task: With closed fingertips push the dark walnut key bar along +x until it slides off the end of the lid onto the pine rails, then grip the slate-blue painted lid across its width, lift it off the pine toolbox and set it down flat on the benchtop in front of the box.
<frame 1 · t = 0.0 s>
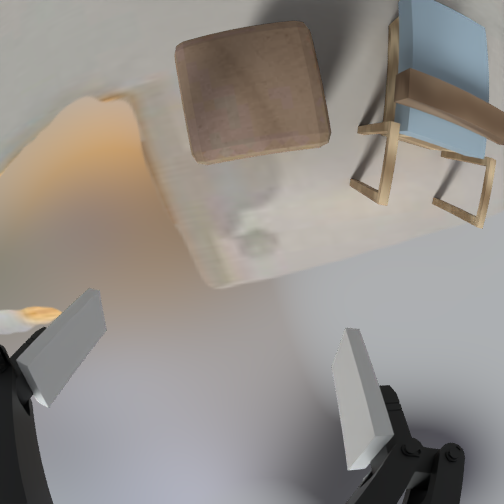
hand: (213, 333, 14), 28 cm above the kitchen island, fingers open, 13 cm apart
wooden block: (262, 114, 36), on the kitchen island
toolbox: (411, 84, 31), on the kitchen island
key: (463, 109, 20), point 14 cm above the kitchen island, slide at 0.0 cm
lid: (437, 75, 24), point 8 cm above the kitchen island, touching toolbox
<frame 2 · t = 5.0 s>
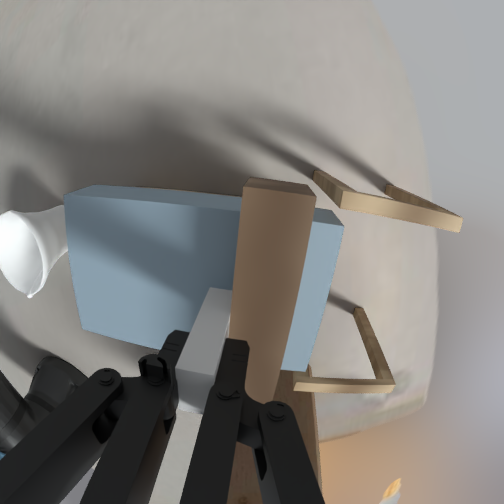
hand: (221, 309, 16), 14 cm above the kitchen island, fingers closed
cup: (69, 226, 30), on the kitchen island
wooden block: (275, 385, 37), on the kitchen island
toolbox: (217, 233, 29), on the kitchen island
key: (259, 321, 16), point 14 cm above the kitchen island, slide at 0.0 cm, touching gripper
lid: (197, 265, 22), point 8 cm above the kitchen island, touching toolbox
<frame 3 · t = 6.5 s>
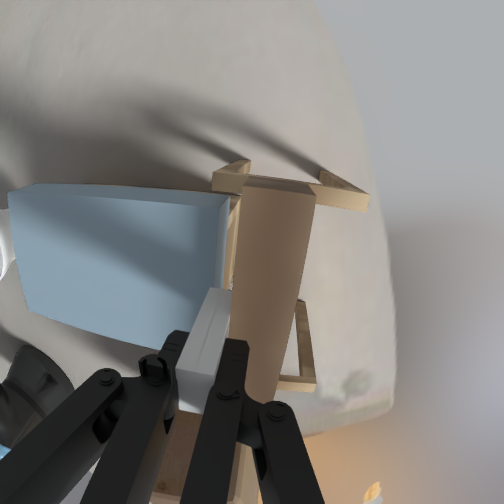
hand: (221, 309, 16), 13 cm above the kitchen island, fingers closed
cup: (34, 222, 31), on the kitchen island
wooden block: (224, 379, 37), on the kitchen island
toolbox: (153, 225, 29), on the kitchen island
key: (259, 321, 16), point 14 cm above the kitchen island, slide at 7.0 cm, touching gripper
lid: (116, 253, 22), point 8 cm above the kitchen island, touching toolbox
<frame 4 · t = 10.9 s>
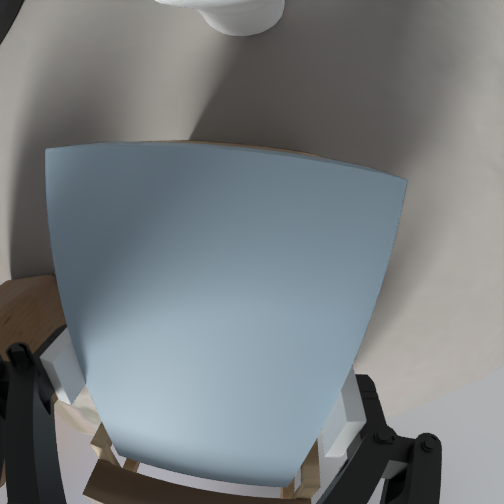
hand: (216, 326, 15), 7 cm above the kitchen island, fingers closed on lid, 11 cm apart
cup: (241, 12, 15), on the kitchen island
wooden block: (48, 313, 26), on the kitchen island
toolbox: (234, 270, 21), on the kitchen island
lid: (212, 336, 14), point 8 cm above the kitchen island, touching gripper, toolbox
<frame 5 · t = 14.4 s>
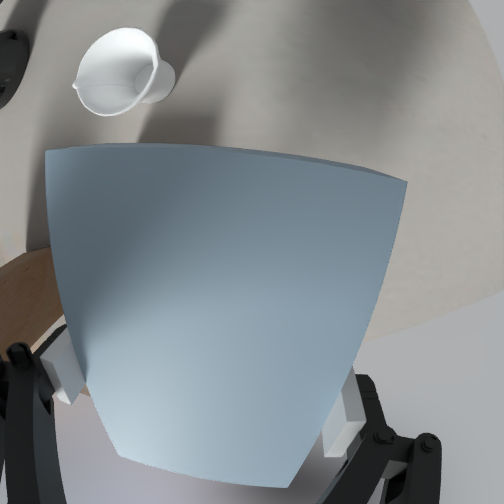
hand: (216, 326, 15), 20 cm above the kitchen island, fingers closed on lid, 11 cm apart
cup: (153, 85, 28), on the kitchen island
wooden block: (50, 275, 39), on the kitchen island
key: (118, 386, 27), point 14 cm above the kitchen island, slide at 7.2 cm
lid: (212, 337, 14), point 21 cm above the kitchen island, touching gripper
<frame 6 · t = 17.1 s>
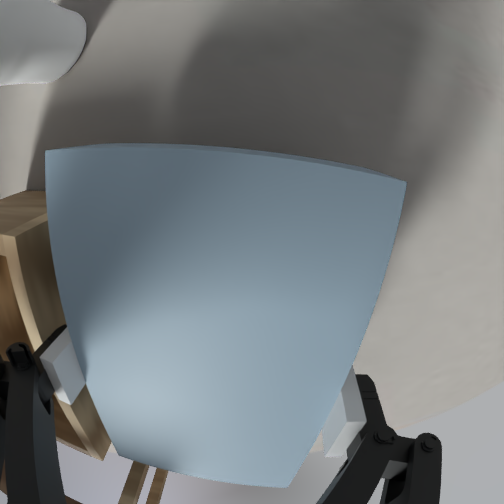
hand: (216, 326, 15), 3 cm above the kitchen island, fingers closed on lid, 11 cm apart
cup: (58, 53, 13), on the kitchen island
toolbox: (75, 305, 19), on the kitchen island
lid: (212, 337, 14), point 4 cm above the kitchen island, touching gripper
when the fingers open (2 cm above the kitchen island, at t = 18.2 s): lid drops 4 cm, on the kitchen island.
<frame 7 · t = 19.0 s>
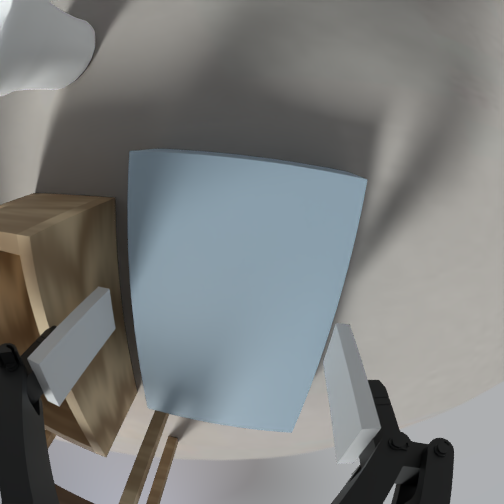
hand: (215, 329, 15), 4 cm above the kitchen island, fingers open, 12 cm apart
cup: (67, 60, 14), on the kitchen island
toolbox: (82, 305, 20), on the kitchen island
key: (54, 503, 12), point 14 cm above the kitchen island, slide at 7.2 cm
lid: (235, 296, 19), on the kitchen island
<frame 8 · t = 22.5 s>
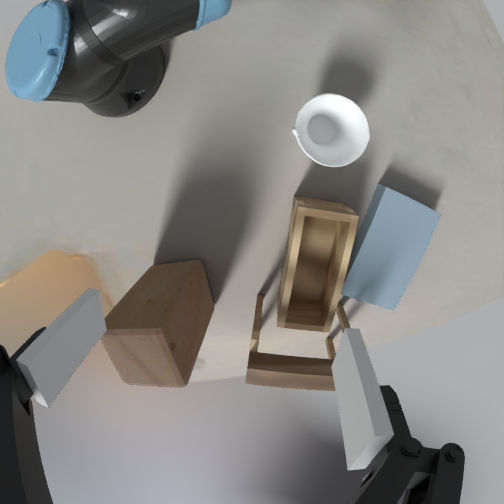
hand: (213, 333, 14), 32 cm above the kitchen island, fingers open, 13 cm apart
cup: (319, 132, 39), on the kitchen island
wooden block: (183, 285, 50), on the kitchen island
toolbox: (310, 254, 46), on the kitchen island
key: (301, 373, 37), point 14 cm above the kitchen island, slide at 7.2 cm
lid: (384, 245, 45), on the kitchen island
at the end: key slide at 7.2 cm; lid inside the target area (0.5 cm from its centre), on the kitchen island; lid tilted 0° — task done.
